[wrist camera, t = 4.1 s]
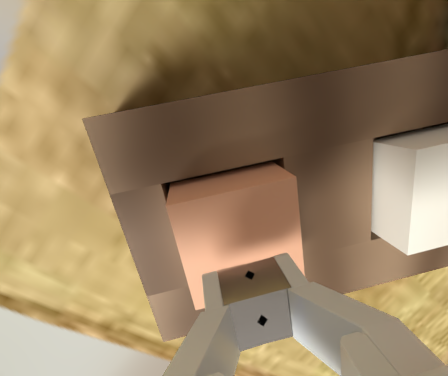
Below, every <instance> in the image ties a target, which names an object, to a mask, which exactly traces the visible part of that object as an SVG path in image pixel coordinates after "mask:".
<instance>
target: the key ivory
mask: <svg viewBox="0 0 448 376" xmlns="http://www.w3.org/2000/svg"><path fill="white" fill-rule="evenodd" d="M371 231H372V232H373V233H375V234H376V235H378V236H379V237H381V238H382V239H384V240H385V241H387V242H388V243H390V244H391V245H393V246H394V247H396V248H397V249H399V250H400V251H402V252H403V253H405V254H406V255H412V254H415V253H419V252H423V251H427V250H431V249H435V248H439V247H443V246H446V245H448V124H443V125H439V126H434V127H430V128H425V129H420V130H416V131H411V132H406V133H402V134H397V135H393V136H388V137H383V138H379V139H374V140H373V175H372V215H371Z"/></svg>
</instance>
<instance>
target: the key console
mask: <svg viewBox="0 0 448 376" xmlns="http://www.w3.org/2000/svg"><path fill="white" fill-rule="evenodd" d="M82 120H83V123H84V125H85V128H86V131H87V133H88V136H89V139H90V142H91V144H92V147H93V150H94V153H95V155H96V158H97V161H98V164H99V166H100V169H101V172H102V175H103V177H104V180H105V183H106V186H107V188H108V191H109V194H110V197H111V199H112V202H113V205H114V208H115V210H116V213H117V216H118V219H119V221H120V224H121V227H122V230H123V232H124V235H125V238H126V240H127V243H128V246H129V249H130V251H131V254H132V257H133V260H134V262H135V265H136V268H137V271H138V273H139V276H140V279H141V282H142V284H143V287H144V290H145V293H146V295H147V298H148V301H149V304H150V306H151V309H152V312H153V315H154V317H155V320H156V323H157V326H158V328H159V331H160V334H161V336H162V339H163V342H165V341H169V340H172V339H176V338H180V337H184V336H187V334H188V333H189V331H190V329H191V328H192V326H193V324H194V323H195V321H196V319H197V318H198V316H199V314H200V313H201V312H204V311H205V308H203V309H199V310H195V307H194V303H193V300H192V296H191V293H190V289H189V286H188V282H187V279H186V275H185V272H184V268H183V265H182V261H181V258H180V254H179V251H178V247H177V244H176V240H175V237H174V233H173V230H172V226H171V223H170V219H169V216H168V212H167V209H166V202H167V198H168V193H169V188H170V184H171V183H175V182H180V181H184V180H189V179H193V178H198V177H203V176H207V175H212V174H217V173H221V172H226V171H231V170H235V169H240V168H244V167H249V166H254V165H258V164H263V163H268V162H274V163H275V164H277V165H278V166H280V167H282V168H283V169H285V170H286V171H288V172H290V173H291V174H293V175H294V176H296V178H297V190H298V202H299V213H300V225H301V237H302V249H303V260H304V272H305V277H306V279H307V280H308V282H309V283H311V282H316V283H318V284H320V285H322V286H325V287H327V288H329V289H332V290H334V291H336V292H338V293H341V294H345V293H349V292H353V291H357V290H360V289H364V288H368V287H372V286H375V285H379V284H383V283H387V282H390V281H394V280H398V279H402V278H406V277H409V276H413V275H417V274H421V273H424V272H428V271H432V270H436V269H439V268H443V267H447V266H448V245H446V246H443V247H439V248H435V249H431V250H427V251H423V252H419V253H415V254H412V255H406V254H405V253H403V252H402V251H400V250H399V249H397V248H396V247H394V246H393V245H391V244H390V243H388V242H387V241H385V240H384V239H382V238H381V237H379V236H378V235H376V234H375V233H373V232H372V231H371V215H372V175H373V140H374V139H379V138H383V137H388V136H393V135H397V134H402V133H406V132H411V131H416V130H420V129H425V128H430V127H434V126H439V125H443V124H448V49H446V50H441V51H436V52H430V53H425V54H420V55H415V56H409V57H404V58H399V59H394V60H388V61H383V62H378V63H373V64H367V65H362V66H357V67H351V68H346V69H341V70H336V71H330V72H325V73H320V74H315V75H309V76H304V77H299V78H294V79H288V80H283V81H278V82H273V83H267V84H262V85H257V86H252V87H246V88H241V89H236V90H230V91H225V92H220V93H215V94H209V95H204V96H199V97H194V98H188V99H183V100H178V101H173V102H167V103H162V104H157V105H152V106H146V107H141V108H136V109H131V110H125V111H120V112H115V113H109V114H104V115H99V116H94V117H88V118H83V119H82Z"/></svg>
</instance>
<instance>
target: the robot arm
mask: <svg viewBox="0 0 448 376" xmlns="http://www.w3.org/2000/svg"><path fill="white" fill-rule="evenodd" d="M202 284H203V294H204V304H205V311H204V312H201V313H200V314H199V316H198V318H197V319H196V321H195V323H194V324H193V326H192V328H191V329H190V331H189V333H188V334H187V336H186V337H185V339H184V341H183V342H182V344H181V346H180V347H179V349H178V351H177V352H176V354H175V356H174V357H173V359H172V361H171V362H170V364H169V366H168V367H167V369H166V371H165V372H164V374H163V376H234V374H235V370H236V367H237V363H238V360H239V356H240V352H241V351H244V350H247V349H250V348H253V347H256V346H259V345H262V344H265V343H269V342H273V341H277V340H281V339H285V338H289V337H293V338H294V339H296V340H297V341H298V342H299V343H300V344H302V345H303V346H304V347H305V348H307V349H308V350H309V351H310V352H312V353H313V354H314V355H315V356H317V357H318V358H319V359H320V360H321V361H323V362H324V363H325V364H326V365H328V366H329V367H330V368H331V369H333V370H334V371H335V372H336V373H338V374H339V375H340V376H448V364H446V365H445V364H444V363H443V362H442V361H441V360H440V359H439V358H438V357H437V356H436V355H435V354H434V353H433V352H432V351H431V350H430V349H429V348H428V347H427V346H426V345H424V344H423V343H422V342H421V341H420V340H419V339H418V338H417V337H416V336H415V335H414V334H413V333H412V332H411V331H410V330H409V329H408V328H407V327H406V326H405V325H404V324H403V323H402V322H401V321H400V320H399V319H398V318H396V317H393V316H391V315H389V314H387V313H384V312H382V311H380V310H377V309H375V308H373V307H371V306H368V305H366V304H364V303H361V302H359V301H357V300H354V299H352V298H350V297H348V296H345V295H343V294H341V293H338V292H336V291H334V290H332V289H329V288H327V287H325V286H322V285H320V284H318V283H316V282H311V283H309V282H308V280H307V279H306V277H305V276H304V275H303V273H302V272H301V271H300V269H299V268H298V266H297V265H296V264H295V262H294V261H293V259H292V258H291V257H290V255H289V254H288V253H282V254H279V255H275V256H272V257H270V258H266V259H262V260H259V261H255V262H251V263H247V264H242V265H238V266H234V267H229V268H225V269H221V270H217V271H213V272H209V273H205V274H202Z"/></svg>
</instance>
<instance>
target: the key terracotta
mask: <svg viewBox="0 0 448 376" xmlns="http://www.w3.org/2000/svg"><path fill="white" fill-rule="evenodd" d="M166 209H167V212H168V216H169V219H170V223H171V226H172V230H173V233H174V237H175V240H176V244H177V247H178V251H179V254H180V258H181V261H182V265H183V268H184V272H185V275H186V279H187V282H188V286H189V289H190V293H191V296H192V300H193V303H194V307H195V310H199V309H203V308H205V304H204V294H203V284H202V274H205V273H209V272H213V271H217V270H221V269H225V268H229V267H234V266H238V265H242V264H247V263H251V262H255V261H259V260H262V259H266V258H270V257H272V256H275V255H279V254H282V253H288V254H289V255H290V257H291V258H292V259H293V261H294V262H295V264H296V265H297V266H298V268H299V269H300V271H301V272H302V273H303V275H304V276H305V272H304V260H303V249H302V237H301V225H300V213H299V202H298V190H297V178H296V176H294V175H293V174H291V173H290V172H288V171H286V170H285V169H283V168H282V167H280V166H278V165H277V164H275V163H274V162H268V163H263V164H258V165H254V166H249V167H244V168H240V169H235V170H231V171H226V172H221V173H217V174H212V175H207V176H203V177H198V178H193V179H189V180H184V181H180V182H175V183H171V184H170V188H169V193H168V198H167V202H166Z"/></svg>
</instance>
